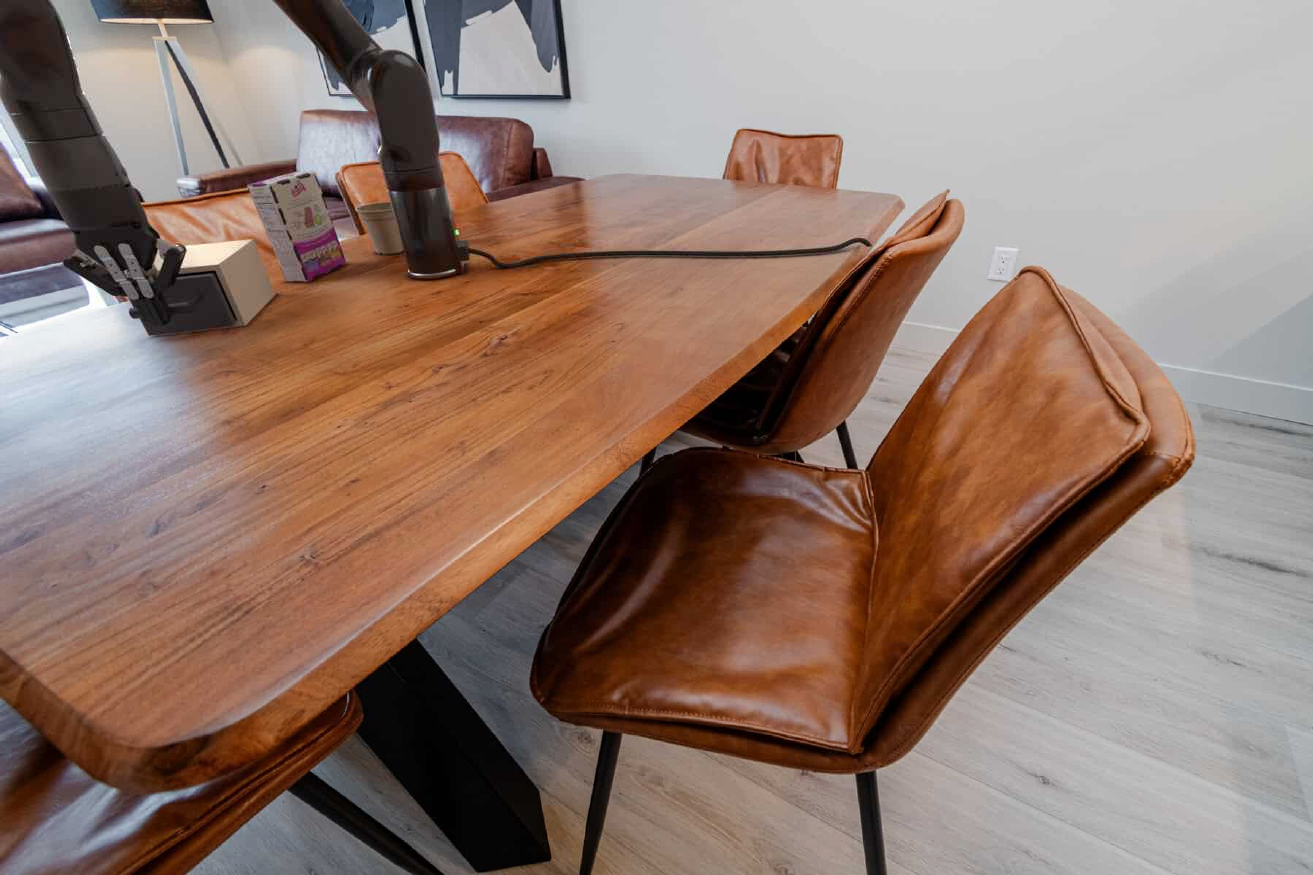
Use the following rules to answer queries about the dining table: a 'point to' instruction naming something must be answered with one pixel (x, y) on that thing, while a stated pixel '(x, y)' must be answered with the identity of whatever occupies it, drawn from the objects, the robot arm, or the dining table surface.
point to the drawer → (193, 305)
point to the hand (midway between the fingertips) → (161, 323)
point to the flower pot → (381, 227)
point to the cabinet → (231, 275)
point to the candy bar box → (298, 225)
